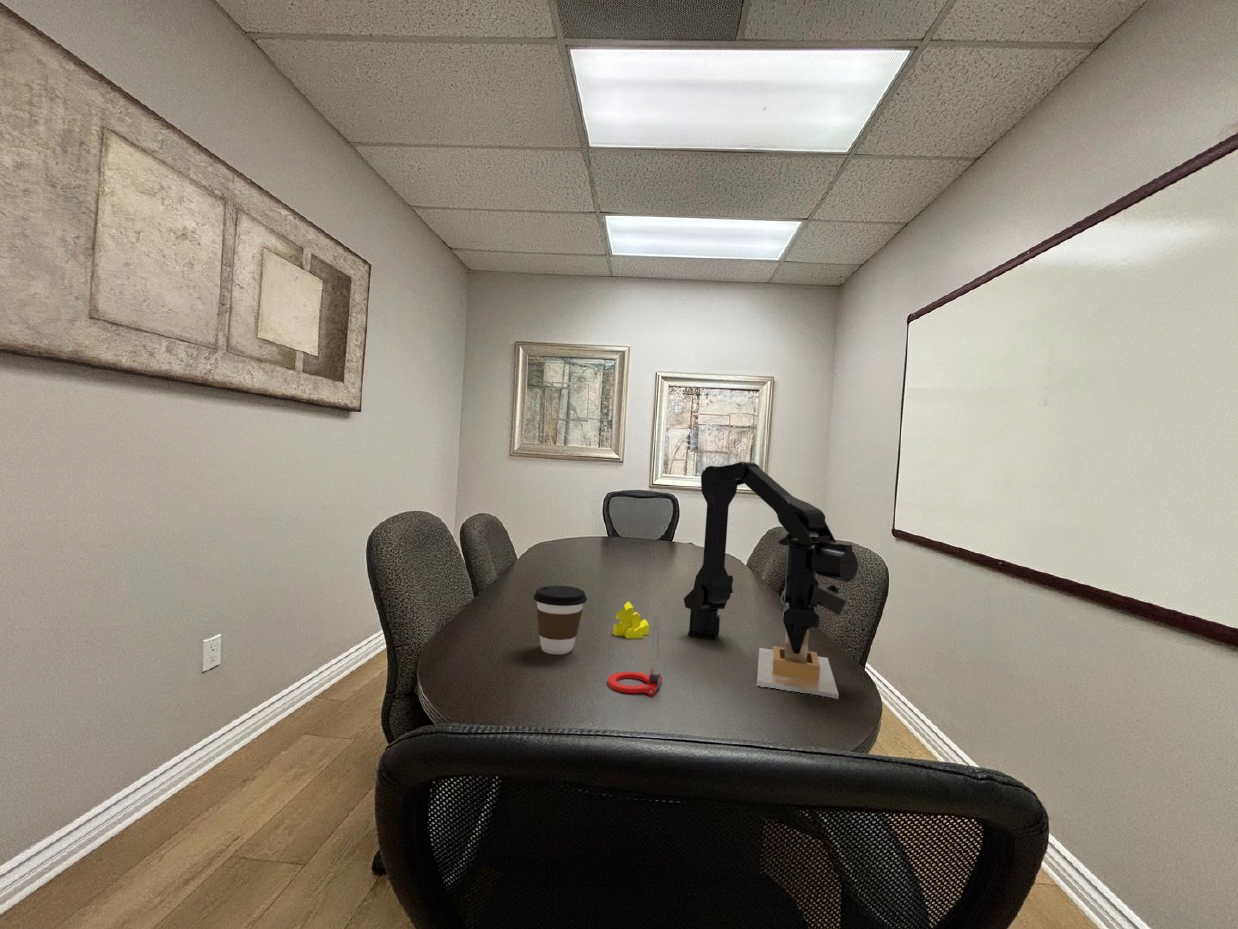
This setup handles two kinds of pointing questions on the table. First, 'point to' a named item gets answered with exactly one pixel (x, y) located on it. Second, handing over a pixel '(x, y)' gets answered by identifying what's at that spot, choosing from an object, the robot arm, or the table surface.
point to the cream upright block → (803, 652)
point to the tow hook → (651, 679)
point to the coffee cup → (558, 617)
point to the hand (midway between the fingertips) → (795, 650)
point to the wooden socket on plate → (795, 673)
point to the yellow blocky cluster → (630, 623)
